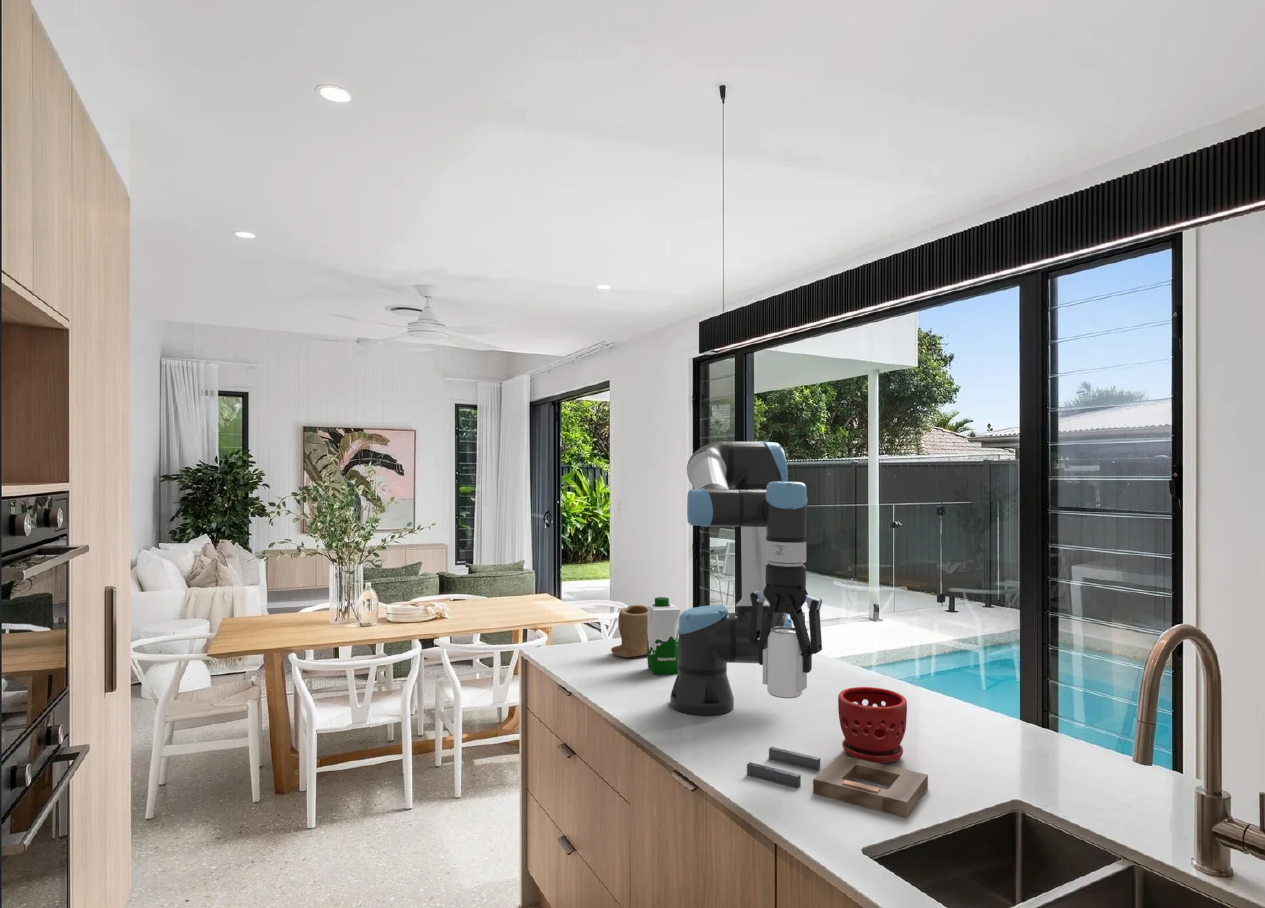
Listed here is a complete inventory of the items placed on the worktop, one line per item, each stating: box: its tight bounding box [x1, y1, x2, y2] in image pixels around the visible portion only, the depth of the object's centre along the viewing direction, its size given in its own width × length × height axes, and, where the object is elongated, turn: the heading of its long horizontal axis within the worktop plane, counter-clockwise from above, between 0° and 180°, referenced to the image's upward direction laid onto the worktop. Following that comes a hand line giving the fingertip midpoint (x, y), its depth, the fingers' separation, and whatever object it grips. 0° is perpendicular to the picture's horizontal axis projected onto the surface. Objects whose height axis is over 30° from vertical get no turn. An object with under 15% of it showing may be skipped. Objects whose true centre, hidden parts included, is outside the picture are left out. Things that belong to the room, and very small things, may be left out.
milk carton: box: [646, 596, 682, 676], centre depth 214 cm, size 9×9×20 cm
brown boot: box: [610, 604, 648, 658], centre depth 232 cm, size 15×12×15 cm
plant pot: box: [837, 686, 908, 764], centre depth 152 cm, size 13×13×12 cm
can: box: [766, 626, 803, 699], centre depth 144 cm, size 6×6×12 cm
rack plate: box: [812, 754, 929, 818], centre depth 135 cm, size 16×14×3 cm
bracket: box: [746, 746, 821, 789], centre depth 144 cm, size 10×11×2 cm
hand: (784, 685), depth 144 cm, fingers closed on can, 6 cm apart
